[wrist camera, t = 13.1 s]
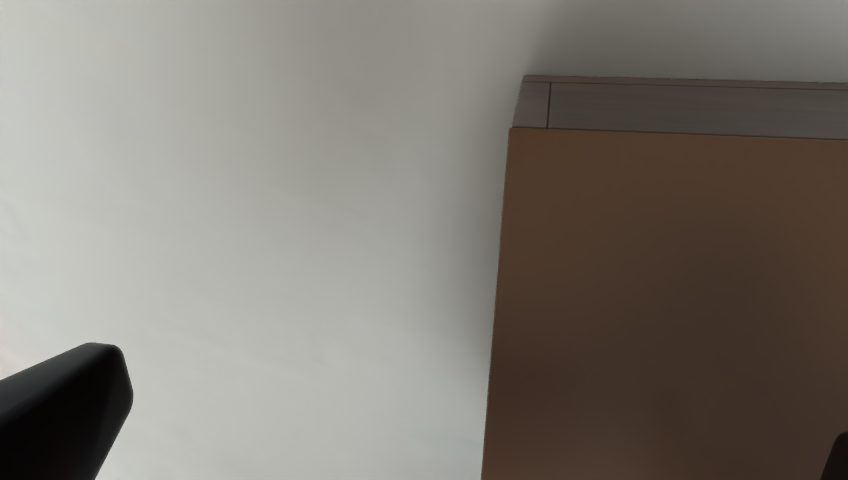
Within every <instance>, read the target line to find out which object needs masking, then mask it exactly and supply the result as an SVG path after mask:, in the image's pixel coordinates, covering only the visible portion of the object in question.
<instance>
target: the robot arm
mask: <svg viewBox="0 0 848 480" xmlns="http://www.w3.org/2000/svg"><path fill="white" fill-rule="evenodd" d="M132 403H133V389H132V385H131V381H130V378H129V374H128V370H127V366H126V363H125V359H124V355H123V353H122V351H121V350H120V348H119V347H117V346H115V345H111V344H102V343H85V344H83V345H80V346H78V347H76V348H74V349H71V350H69V351H67V352H64V353H62V354H60V355H57V356H55V357H53V358H51V359H48V360H46V361H44V362H41V363H39V364H37V365H35V366H32V367H30V368H28V369H25V370H23V371H21V372H18V373H16V374H14V375H12V376H9V377H7V378H5V379H2V380H0V480H95V478H96V476H97V474H98V472H99V470H100V468H101V466H102V464H103V463H104V461H105V459H106V457H107V455H108V453H109V451H110V449H111V447H112V445H113V443H114V441H115V439H116V437H117V435H118V433H119V431H120V430H121V428H122V426H123V424H124V422H125V420H126V418H127V416H128V414H129V412H130V410H131V407H132ZM820 480H848V432H843V433H841V434H839V435H838V436H837V437H836V439H835V441H834V443H833V446H832V449H831V451H830V454H829V457H828V459H827V462H826V465H825V467H824V470H823V473H822V475H821V478H820Z"/></svg>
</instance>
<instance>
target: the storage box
mask: <svg viewBox="0 0 848 480" xmlns="http://www.w3.org/2000/svg"><path fill="white" fill-rule="evenodd" d="M511 128H531V129H557V130H583V131H608V132H634V133H660V134H686V135H712V136H738V137H763V138H789V139H815V140H841V141H848V83H821V82H781V81H741V80H700V79H660V78H620V77H580V76H540V75H525V76H523V79H522V83H521V87H520V92H519V96H518V100H517V105H516V109H515V113H514V118H513V122H512V126H511Z"/></svg>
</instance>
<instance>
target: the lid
mask: <svg viewBox="0 0 848 480" xmlns="http://www.w3.org/2000/svg"><path fill="white" fill-rule="evenodd" d="M843 432H848V141H841V140H815V139H789V138H763V137H738V136H712V135H686V134H660V133H634V132H608V131H583V130H557V129H531V128H510V129H509V133H508V146H507V158H506V171H505V183H504V196H503V208H502V221H501V234H500V246H499V259H498V271H497V284H496V296H495V309H494V321H493V334H492V347H491V359H490V372H489V384H488V397H487V409H486V422H485V435H484V447H483V460H482V472H481V480H820V478H821V475H822V473H823V470H824V467H825V465H826V462H827V459H828V457H829V454H830V451H831V449H832V446H833V443H834V441H835V439H836V437H837V436H838V435H839V434H841V433H843Z"/></svg>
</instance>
